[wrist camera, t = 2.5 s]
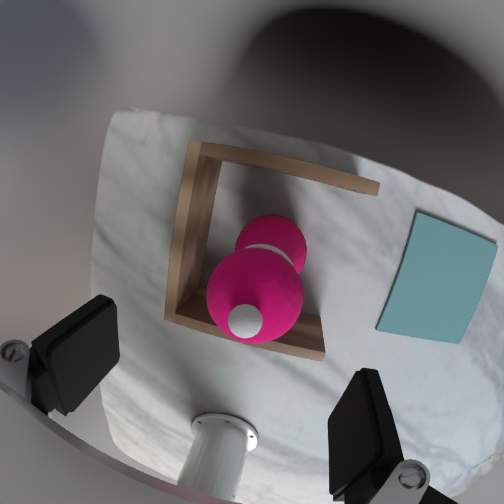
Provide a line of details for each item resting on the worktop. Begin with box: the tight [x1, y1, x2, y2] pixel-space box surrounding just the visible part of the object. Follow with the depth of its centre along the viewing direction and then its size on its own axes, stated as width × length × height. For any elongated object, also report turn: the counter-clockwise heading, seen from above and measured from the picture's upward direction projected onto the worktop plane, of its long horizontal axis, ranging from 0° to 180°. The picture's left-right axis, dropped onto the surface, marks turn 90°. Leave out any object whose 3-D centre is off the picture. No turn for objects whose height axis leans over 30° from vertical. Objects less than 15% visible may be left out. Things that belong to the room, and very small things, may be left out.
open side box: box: [164, 140, 380, 362], centre depth 28 cm, size 18×17×8 cm
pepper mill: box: [206, 215, 307, 343], centre depth 22 cm, size 7×7×20 cm
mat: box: [375, 212, 498, 344], centre depth 29 cm, size 16×16×1 cm
